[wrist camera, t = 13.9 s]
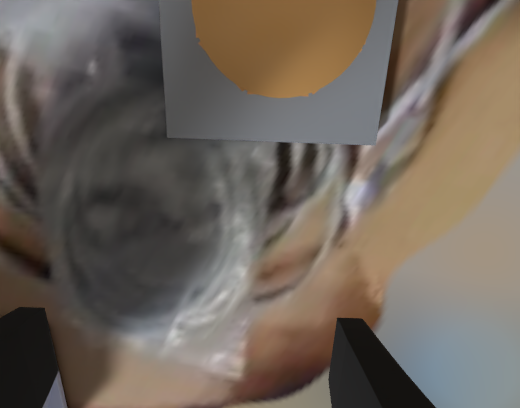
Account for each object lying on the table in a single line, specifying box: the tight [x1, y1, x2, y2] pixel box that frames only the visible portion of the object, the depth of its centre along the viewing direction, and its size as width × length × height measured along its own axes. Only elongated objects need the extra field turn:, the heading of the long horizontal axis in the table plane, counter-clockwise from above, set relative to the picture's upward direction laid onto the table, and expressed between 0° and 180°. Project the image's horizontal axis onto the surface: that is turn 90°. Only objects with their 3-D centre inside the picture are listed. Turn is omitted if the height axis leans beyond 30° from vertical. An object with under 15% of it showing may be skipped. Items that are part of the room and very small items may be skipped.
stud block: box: [159, 0, 398, 145], centre depth 14 cm, size 10×9×4 cm
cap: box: [191, 0, 376, 98], centre depth 13 cm, size 5×5×5 cm
